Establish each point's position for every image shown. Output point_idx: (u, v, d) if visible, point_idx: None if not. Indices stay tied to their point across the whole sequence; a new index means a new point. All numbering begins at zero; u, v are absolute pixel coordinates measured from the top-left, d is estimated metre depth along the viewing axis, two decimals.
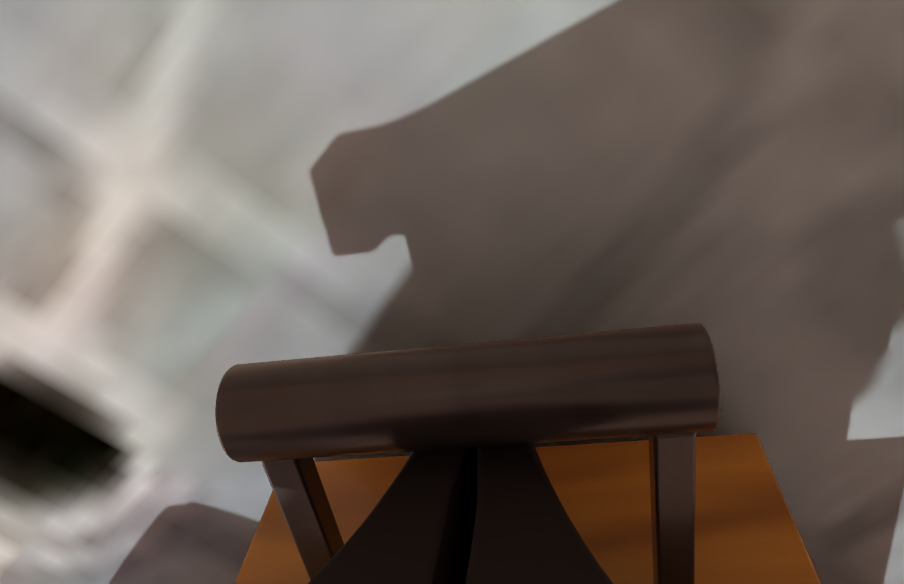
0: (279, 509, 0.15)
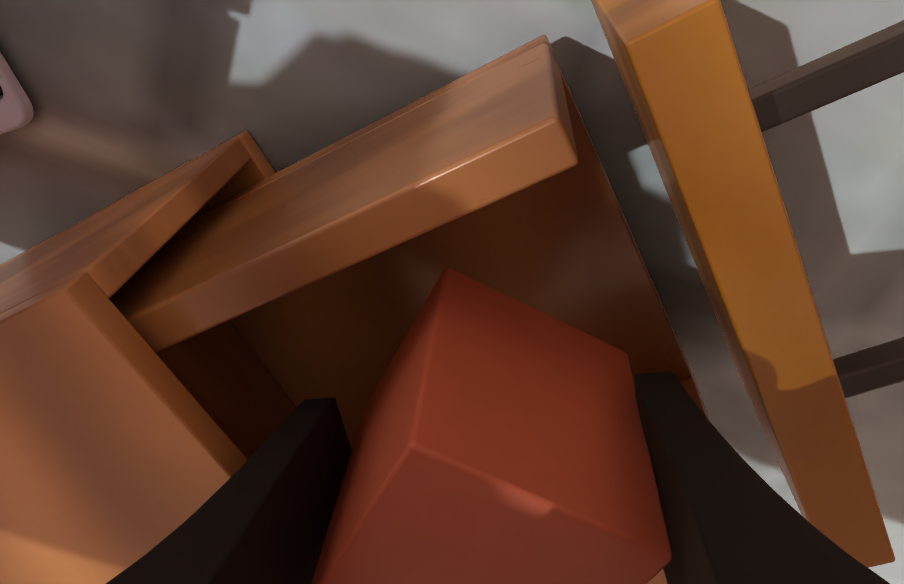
0: None
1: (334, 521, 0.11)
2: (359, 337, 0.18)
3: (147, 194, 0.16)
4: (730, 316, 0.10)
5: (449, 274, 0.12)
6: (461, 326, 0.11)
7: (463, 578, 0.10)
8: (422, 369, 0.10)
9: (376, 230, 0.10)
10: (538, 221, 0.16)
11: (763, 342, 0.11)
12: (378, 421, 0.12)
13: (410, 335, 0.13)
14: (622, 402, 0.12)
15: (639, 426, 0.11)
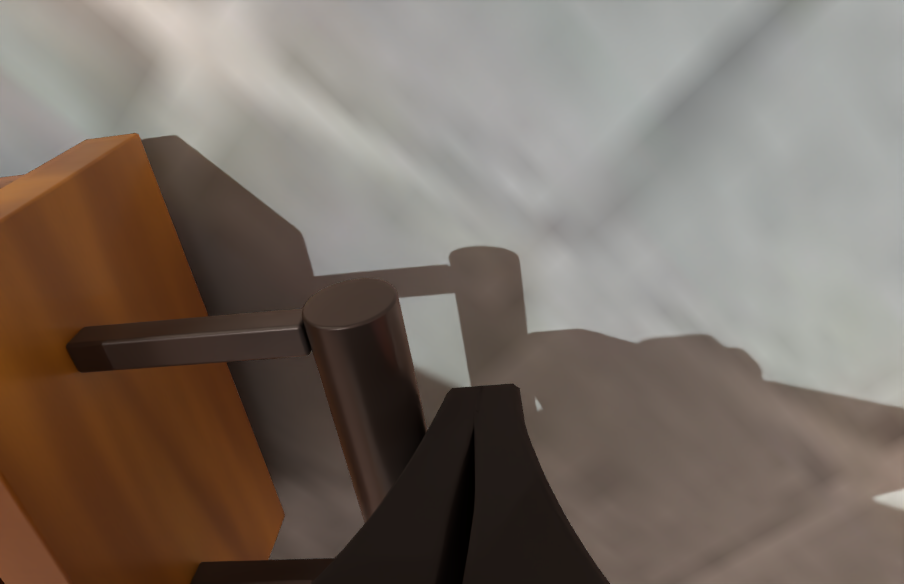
0: (107, 177, 0.13)
1: None
2: None
3: None
4: None
5: None
6: None
7: None
8: None
9: None
10: None
11: (15, 577, 0.11)
12: None
13: None
14: None
15: None
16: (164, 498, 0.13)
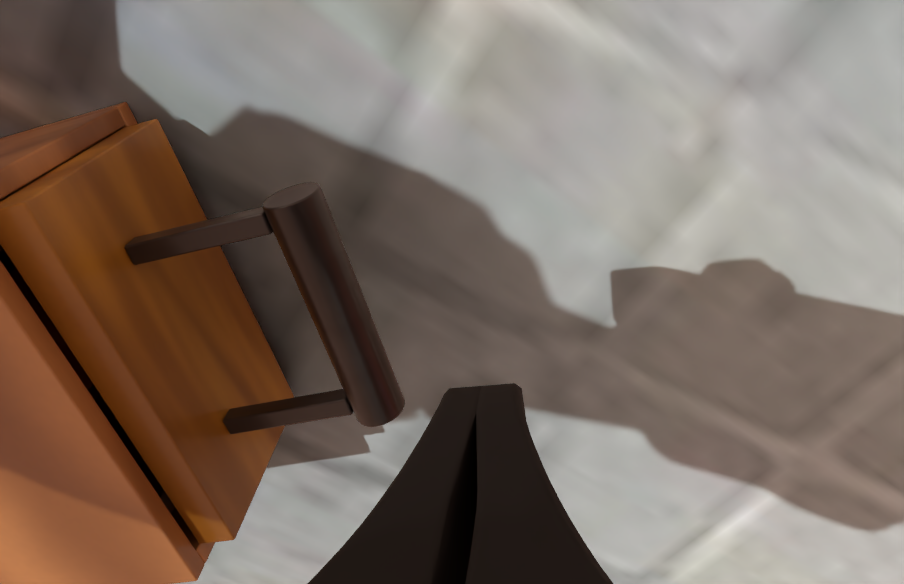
0: (140, 146, 0.19)
1: None
2: None
3: (29, 138, 0.19)
4: None
5: None
6: (18, 284, 0.20)
7: None
8: None
9: None
10: None
11: (108, 391, 0.17)
12: None
13: None
14: None
15: None
16: (199, 359, 0.20)
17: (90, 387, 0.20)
